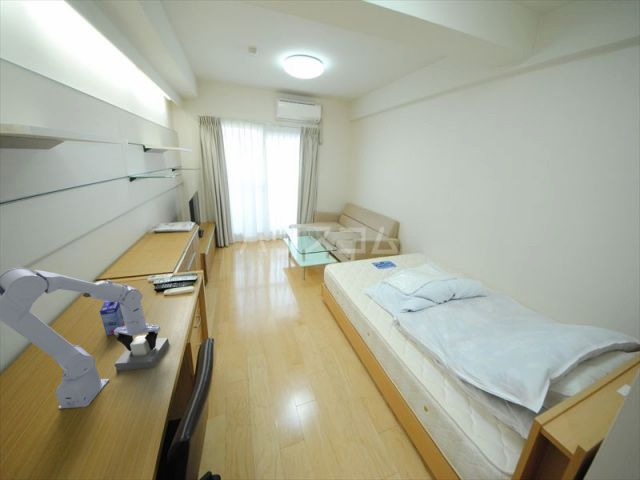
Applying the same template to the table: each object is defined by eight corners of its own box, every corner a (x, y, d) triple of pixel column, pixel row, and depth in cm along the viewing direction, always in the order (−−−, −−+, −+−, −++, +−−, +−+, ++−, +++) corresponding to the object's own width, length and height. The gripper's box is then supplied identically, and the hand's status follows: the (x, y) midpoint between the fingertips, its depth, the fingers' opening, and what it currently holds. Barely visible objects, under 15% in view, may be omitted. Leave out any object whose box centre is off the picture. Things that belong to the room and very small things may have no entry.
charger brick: (147, 358, 90) (143, 343, 88) (134, 359, 89) (129, 344, 87) (154, 349, 94) (150, 334, 92) (141, 350, 94) (137, 335, 92)
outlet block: (152, 368, 87) (150, 361, 86) (116, 370, 86) (114, 363, 85) (169, 343, 98) (167, 337, 97) (137, 345, 97) (135, 338, 96)
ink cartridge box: (122, 332, 104) (114, 303, 99) (106, 336, 101) (96, 306, 97) (126, 319, 112) (118, 291, 108) (111, 323, 110) (102, 295, 105)
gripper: (161, 310, 91) (168, 339, 95) (120, 311, 89) (128, 341, 94) (151, 322, 84) (158, 353, 88) (106, 324, 83) (116, 355, 87)
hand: (142, 348), depth 91 cm, fingers open, 7 cm apart
